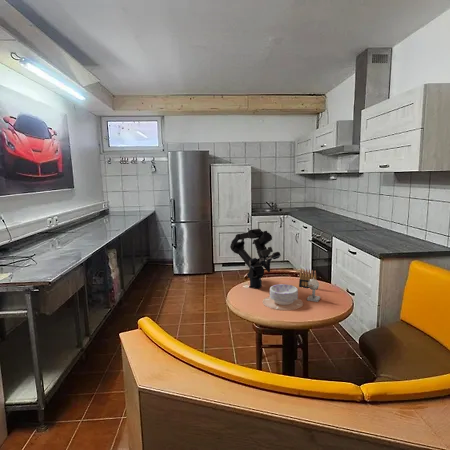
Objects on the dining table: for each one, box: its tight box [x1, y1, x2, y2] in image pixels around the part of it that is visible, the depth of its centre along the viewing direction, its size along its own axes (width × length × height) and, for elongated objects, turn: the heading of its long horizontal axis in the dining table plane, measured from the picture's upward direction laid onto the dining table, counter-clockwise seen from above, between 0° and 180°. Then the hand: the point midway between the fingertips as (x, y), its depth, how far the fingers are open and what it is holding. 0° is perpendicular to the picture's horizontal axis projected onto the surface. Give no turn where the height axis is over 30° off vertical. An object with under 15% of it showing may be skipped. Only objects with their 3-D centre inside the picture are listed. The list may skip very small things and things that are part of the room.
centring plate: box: [262, 295, 304, 311], centre depth 183 cm, size 22×22×1 cm
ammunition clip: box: [298, 268, 317, 289], centre depth 205 cm, size 11×2×12 cm, turn 59°
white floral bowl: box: [269, 283, 299, 305], centre depth 182 cm, size 15×15×8 cm
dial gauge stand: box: [306, 278, 321, 303], centre depth 186 cm, size 6×6×12 cm
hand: (269, 272), depth 195 cm, fingers closed
